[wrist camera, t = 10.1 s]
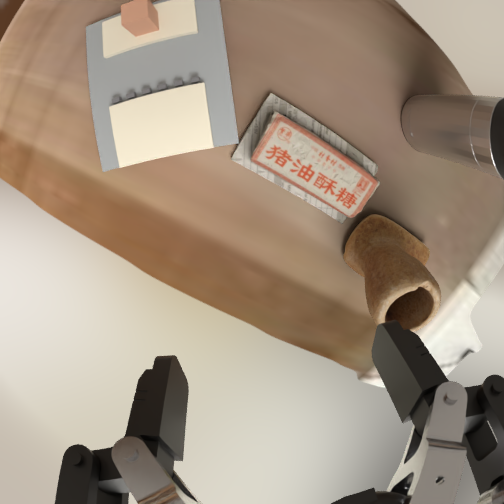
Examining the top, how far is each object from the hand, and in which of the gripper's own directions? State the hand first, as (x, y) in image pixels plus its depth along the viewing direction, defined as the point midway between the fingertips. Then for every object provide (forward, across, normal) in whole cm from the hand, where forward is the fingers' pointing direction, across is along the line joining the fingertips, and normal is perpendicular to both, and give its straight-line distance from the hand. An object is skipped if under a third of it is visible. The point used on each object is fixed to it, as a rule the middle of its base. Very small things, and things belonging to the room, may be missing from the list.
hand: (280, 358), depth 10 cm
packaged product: (+29, -9, -3) cm, 30 cm away
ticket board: (+28, +9, -16) cm, 34 cm away
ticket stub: (+27, +9, -24) cm, 37 cm away
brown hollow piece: (+28, -20, +13) cm, 37 cm away
